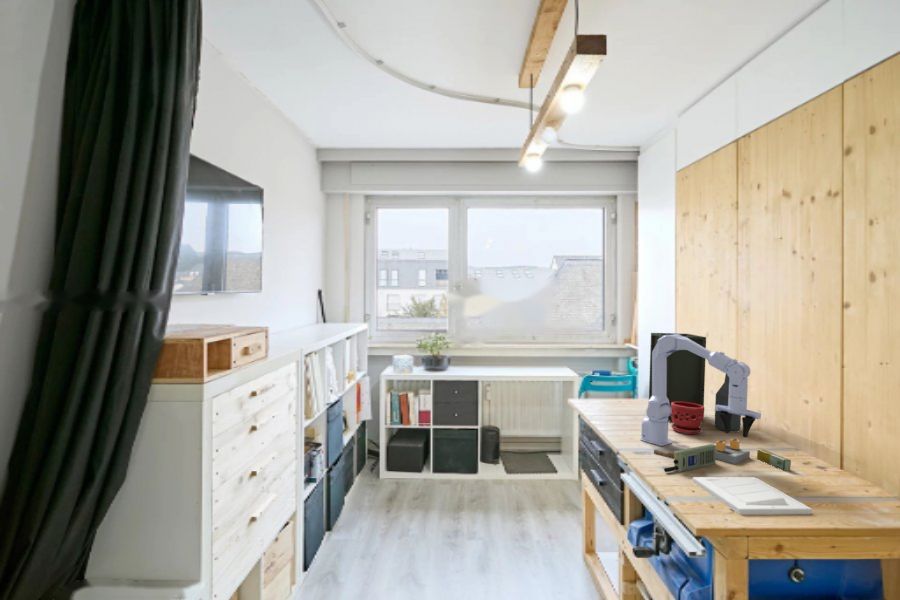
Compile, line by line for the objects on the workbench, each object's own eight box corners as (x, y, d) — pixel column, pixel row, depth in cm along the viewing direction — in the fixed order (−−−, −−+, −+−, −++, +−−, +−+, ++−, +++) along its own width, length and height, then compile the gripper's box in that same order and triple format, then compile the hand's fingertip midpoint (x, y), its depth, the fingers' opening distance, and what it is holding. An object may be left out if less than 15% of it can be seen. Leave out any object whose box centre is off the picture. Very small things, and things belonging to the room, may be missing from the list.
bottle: (731, 426, 222) (734, 360, 221) (745, 432, 212) (748, 364, 212) (709, 425, 222) (712, 360, 221) (722, 432, 212) (724, 363, 211)
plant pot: (705, 437, 203) (706, 409, 203) (670, 433, 208) (671, 405, 208) (701, 429, 215) (702, 402, 215) (669, 425, 220) (670, 399, 220)
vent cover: (812, 503, 133) (740, 503, 132) (812, 515, 133) (739, 516, 132) (755, 472, 156) (692, 472, 154) (754, 482, 156) (692, 482, 154)
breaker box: (700, 454, 181) (700, 447, 181) (715, 448, 188) (716, 442, 188) (734, 464, 171) (734, 456, 171) (749, 458, 178) (749, 450, 178)
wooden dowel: (654, 449, 181) (655, 448, 182) (653, 453, 181) (655, 453, 182) (682, 455, 174) (684, 455, 175) (681, 460, 174) (683, 460, 175)
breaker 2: (729, 447, 180) (730, 438, 180) (732, 446, 182) (733, 437, 182) (736, 449, 179) (736, 440, 178) (739, 448, 180) (739, 439, 180)
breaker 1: (715, 449, 178) (715, 440, 178) (718, 448, 179) (719, 439, 179) (722, 451, 176) (722, 442, 176) (725, 450, 177) (725, 441, 177)
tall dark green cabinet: (703, 421, 228) (706, 337, 228) (663, 420, 229) (666, 336, 228) (684, 412, 247) (687, 333, 246) (648, 411, 247) (651, 332, 246)
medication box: (791, 471, 166) (791, 460, 166) (784, 471, 166) (785, 460, 166) (762, 459, 178) (763, 448, 178) (756, 459, 177) (756, 448, 177)
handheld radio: (717, 464, 171) (670, 475, 159) (708, 462, 174) (661, 472, 162) (717, 445, 171) (669, 455, 159) (708, 443, 174) (661, 452, 162)
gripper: (765, 399, 169) (763, 438, 170) (721, 391, 181) (720, 428, 181) (756, 401, 165) (754, 441, 166) (712, 393, 177) (711, 430, 177)
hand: (736, 434), depth 173 cm, fingers open, 5 cm apart
